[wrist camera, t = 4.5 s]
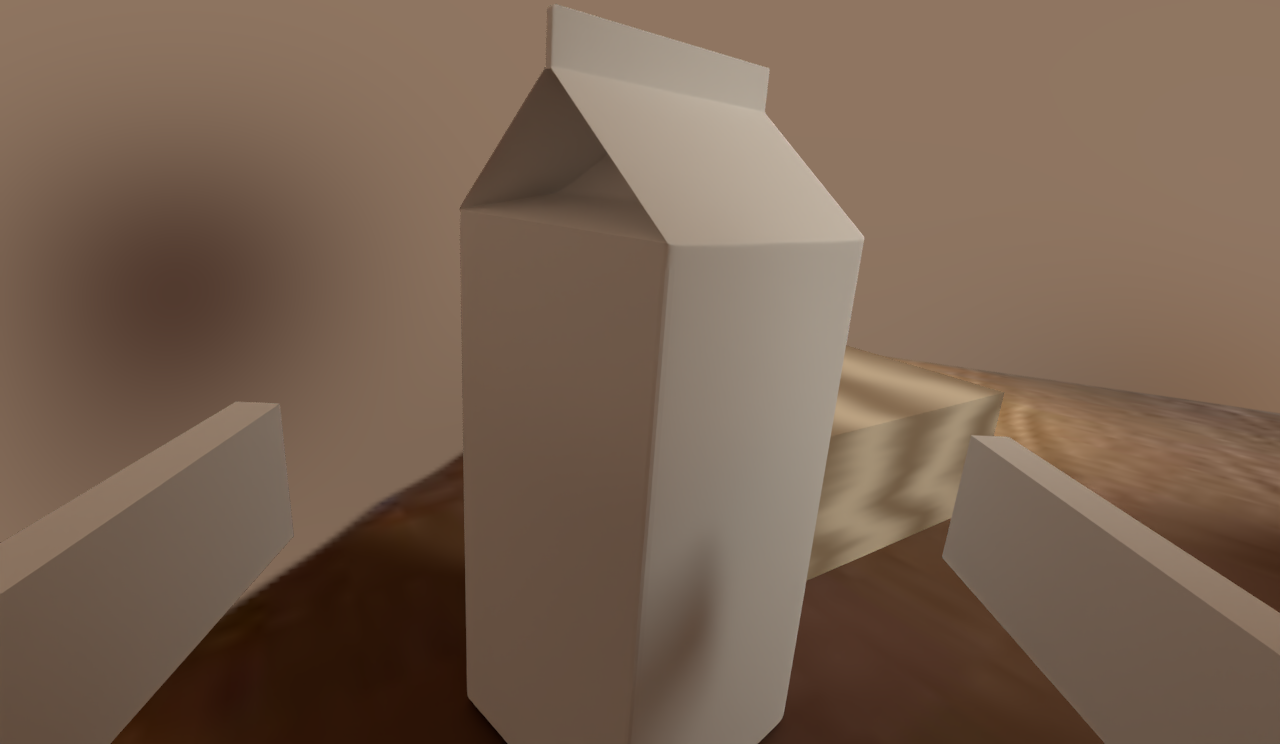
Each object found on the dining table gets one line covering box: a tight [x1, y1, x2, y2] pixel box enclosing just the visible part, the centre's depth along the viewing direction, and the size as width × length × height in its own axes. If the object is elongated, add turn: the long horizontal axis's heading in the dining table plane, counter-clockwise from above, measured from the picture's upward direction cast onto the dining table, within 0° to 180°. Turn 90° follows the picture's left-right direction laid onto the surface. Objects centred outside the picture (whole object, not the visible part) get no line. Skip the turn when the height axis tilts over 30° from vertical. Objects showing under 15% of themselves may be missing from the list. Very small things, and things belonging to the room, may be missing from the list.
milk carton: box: [460, 4, 864, 744], centre depth 17 cm, size 7×7×19 cm
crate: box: [806, 345, 1004, 581], centre depth 36 cm, size 15×15×7 cm
